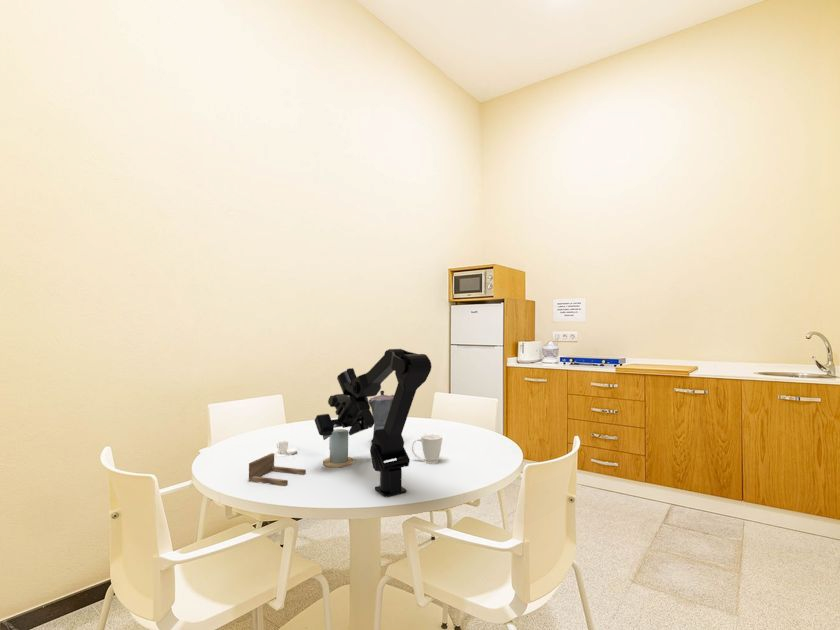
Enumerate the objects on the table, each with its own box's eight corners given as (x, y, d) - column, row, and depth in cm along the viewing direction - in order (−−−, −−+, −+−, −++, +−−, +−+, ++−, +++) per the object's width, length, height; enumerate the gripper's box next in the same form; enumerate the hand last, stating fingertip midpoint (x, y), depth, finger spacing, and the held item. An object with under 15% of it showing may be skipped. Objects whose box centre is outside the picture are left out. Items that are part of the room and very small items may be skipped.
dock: (305, 473, 125) (306, 456, 125) (285, 485, 115) (285, 467, 116) (271, 469, 129) (271, 453, 129) (248, 481, 119) (249, 463, 119)
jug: (351, 461, 135) (351, 431, 136) (334, 465, 132) (335, 434, 132) (338, 455, 142) (339, 426, 142) (322, 458, 139) (323, 429, 139)
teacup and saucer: (301, 454, 146) (301, 442, 146) (280, 459, 140) (280, 447, 140) (287, 449, 152) (287, 437, 152) (267, 454, 146) (267, 442, 146)
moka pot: (360, 445, 156) (361, 391, 157) (392, 437, 167) (392, 387, 168) (376, 450, 149) (377, 393, 150) (408, 442, 160) (408, 389, 161)
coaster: (359, 464, 134) (359, 462, 134) (329, 469, 129) (329, 467, 129) (347, 456, 143) (347, 454, 143) (318, 460, 137) (318, 459, 137)
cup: (441, 465, 133) (441, 439, 133) (410, 464, 134) (410, 438, 135) (443, 458, 140) (443, 434, 140) (413, 457, 141) (413, 433, 142)
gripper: (370, 384, 139) (353, 412, 148) (317, 389, 128) (302, 419, 136) (383, 411, 133) (365, 439, 141) (328, 419, 121) (312, 449, 130)
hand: (336, 436), depth 137 cm, fingers open, 9 cm apart
